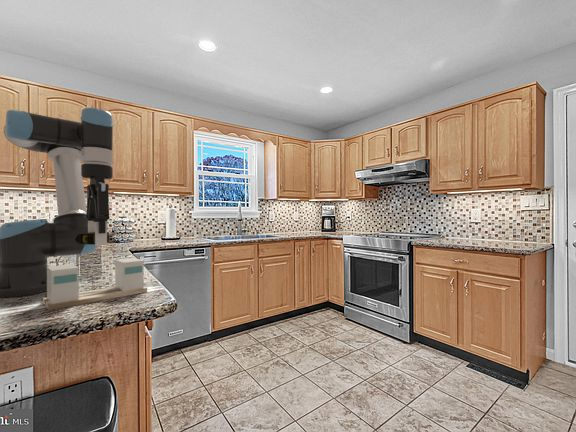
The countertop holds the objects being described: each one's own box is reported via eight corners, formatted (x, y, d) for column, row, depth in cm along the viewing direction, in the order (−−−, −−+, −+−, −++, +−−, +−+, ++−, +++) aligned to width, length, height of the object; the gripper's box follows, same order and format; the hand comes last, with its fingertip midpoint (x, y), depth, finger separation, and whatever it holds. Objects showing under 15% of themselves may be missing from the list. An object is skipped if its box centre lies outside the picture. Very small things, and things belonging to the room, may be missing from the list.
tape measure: (96, 243, 88) (96, 231, 88) (115, 244, 86) (115, 231, 86) (75, 246, 81) (74, 232, 81) (95, 247, 79) (95, 233, 79)
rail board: (43, 302, 84) (43, 296, 84) (135, 286, 102) (135, 282, 102) (48, 310, 77) (48, 304, 77) (147, 291, 95) (147, 287, 95)
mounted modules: (47, 298, 84) (46, 266, 83) (134, 283, 101) (134, 257, 101) (51, 304, 78) (51, 270, 78) (143, 288, 95) (143, 260, 95)
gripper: (74, 166, 88) (74, 241, 89) (90, 158, 74) (90, 248, 74) (103, 169, 94) (102, 240, 94) (122, 162, 79) (122, 246, 80)
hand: (97, 243), depth 84 cm, fingers closed on tape measure, 8 cm apart
